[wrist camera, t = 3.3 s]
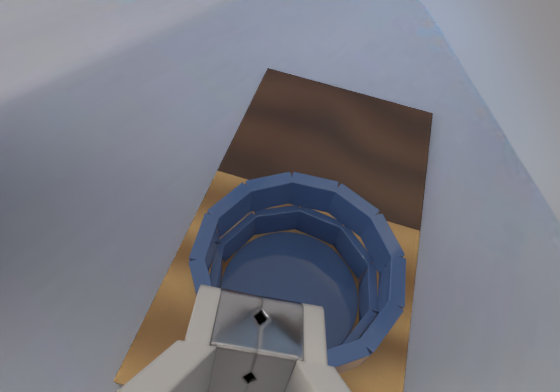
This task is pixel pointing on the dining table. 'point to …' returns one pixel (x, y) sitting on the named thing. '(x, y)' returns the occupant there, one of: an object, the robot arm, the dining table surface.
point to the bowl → (307, 257)
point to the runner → (180, 294)
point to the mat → (336, 142)
